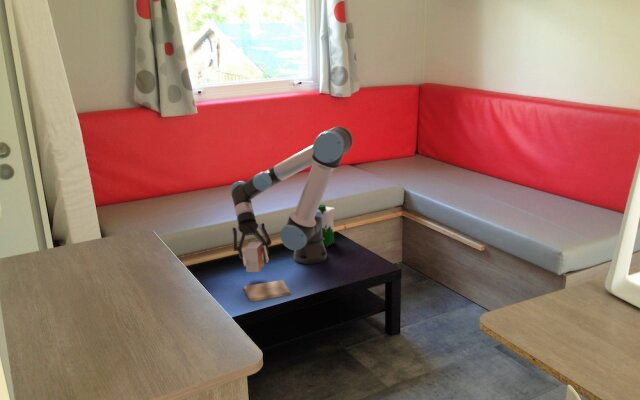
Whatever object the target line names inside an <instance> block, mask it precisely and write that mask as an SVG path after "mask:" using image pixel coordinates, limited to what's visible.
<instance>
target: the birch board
mask: <svg viewBox="0 0 640 400" xmlns="http://www.w3.org/2000/svg"><path fill="white" fill-rule="evenodd" d="M243 290H244V292H245V294H246V296H247V298H248V300H249V302H250V303H252V302H256V301H263V300H267V299H273V298H274V299H275V298H278V297H285V296H290V295H291V291H290V289H289V287H288V285H286V283H285V282H284V280H283V279H281V280H280V279H279V280H274V281H273V280H272V281H268V282H267V281H266V282H262V283H261V282H260V283H257V284H250V285H244V286H243Z"/></svg>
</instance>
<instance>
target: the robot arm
mask: <svg viewBox="0 0 640 400" xmlns="http://www.w3.org/2000/svg"><path fill="white" fill-rule="evenodd" d="M353 140H354V139H353V135H352V133H351V132H350V130H349V129H347V128H345V127H344V126H334V127H332V128H329V129H328V130H325V131H323V132H321V133H320V134H318V135H317V136H316V137H315V139H314V141H313V144H312V145H309V146H307V147H305V148H304V149H303V150H301V151H299V152H297V153H295V154H293V155H291V156H289V157H288V158H286V159H285V160H282V161H280V162H279V163H277V164H275V165H274V166H272V167H269V168H268V169H266V170H264V171H260V172H259V173H257V174H254V176H252V178H250V179H249V180H247V181H243V180H239V181H236V182H234V183H232V185H230V193H231V194H230V195H231V198H232V202H233V204H234V210H235V214H236V215H235V216H236V219H237V225H238V226H237V227H232V231H231V232H232V235H233V252H238V256H239V259H242V263H243V267H246V264H247V263H246V258H245V250H244V248H243V245H244V242H245V237H247V236H254V237H255V238H256V239H257V240H258V242H263V254H264V260H265V262H266V263H269V260H270V259H269V253H270V249H269V247H270V246H271V245H272V240H271V238H270V236H269V234H268V232H267V230H266V228H265V227H266V226H265V223H258V222H257V220H256V216H255V215H256V214H255V213H254V207H253V204H252V200H253V199H254V198H255V197H257V196H259V195H260V194H262V193H264V192H265V191H267V190H269V189H270V188H272V187H274V186H276V185H277V184H279V183H281V182H283V181H284V180H286V179H288V178H290V177H292V176H294V175H296V174H297V173H300V172H301V171H304V170H305V169H307V168H309V167H311V168H310V171H309V174H308V175H307V179H306V182H305V184H304V187H303V188H302V189H303V190H302V192H301V194H300V197H299V200H298V203H297V205H296V208H295V209H294V211H291V212H290V214H289V216H288V219H287V221H286V224H285V225H284V226H283V227H282V228H281V230H280V233H279V237H280V241H281V243H282V244H283V245H284V247H286V248H287V249H289V250H291V251H294V252H293V259H294V261H295V262H298V263H300V264H305V265H306V264H307V265H308V264H309V265H311V264H318V263H322V262H324V261H326V260H327V258H328V252H327V250H326V247H325V246H324V244H323V239H322V213H321V211H320V210H318V208H319V205H321V202H322V200H323V197H324V195H325V193H326V189H327V187H328V184H329V182H330V179H331V177H332V174H333V171H334V170H336V169H338V168H339V166H340V164H341V162H342V159H343V157H344V155H345V154H346V153H348V152H349V151H350V150H351V149H352V146H353ZM258 229H259V230H260V231H261V233H262V235H261V234H260V233H259V231H258ZM239 232H240V233H241V238H240V241H239V245H238V233H239Z"/></svg>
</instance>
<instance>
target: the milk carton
mask: <svg viewBox="0 0 640 400" xmlns="http://www.w3.org/2000/svg"><path fill="white" fill-rule="evenodd" d="M335 209H336V208H335V207H332V206H331V207H330V206H327V205H326V204H320V205H319V208H318V210H320V211H321V213H322V239H323V244H324V246H326V247H325V248H328V246H329V245H330V246H332V245H333V244H335V243H334V242H335V232H334V231H335V227H334V226H335V225H334V222H335V221H334V214H335ZM332 243H333V244H332ZM331 244H332V245H331ZM330 246H329V247H330Z"/></svg>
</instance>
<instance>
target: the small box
mask: <svg viewBox="0 0 640 400" xmlns="http://www.w3.org/2000/svg"><path fill="white" fill-rule="evenodd" d="M243 249H244V254H245V258H246V263H247V264H246V266H245V268H246V273H260V271H261V270H262V269H263V267H265V255H264V251H263V242H260V241H249V243H248V244H247V245H245V247H244V248H243Z"/></svg>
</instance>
